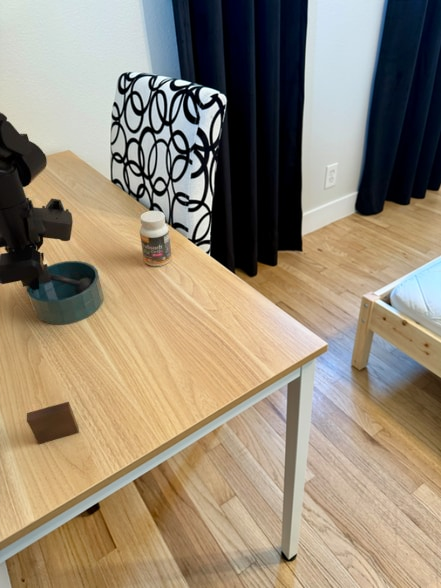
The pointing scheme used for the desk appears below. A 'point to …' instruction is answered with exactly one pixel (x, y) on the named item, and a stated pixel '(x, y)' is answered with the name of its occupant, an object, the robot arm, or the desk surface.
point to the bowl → (67, 294)
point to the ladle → (64, 280)
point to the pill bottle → (155, 238)
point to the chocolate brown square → (52, 422)
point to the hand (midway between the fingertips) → (36, 285)
